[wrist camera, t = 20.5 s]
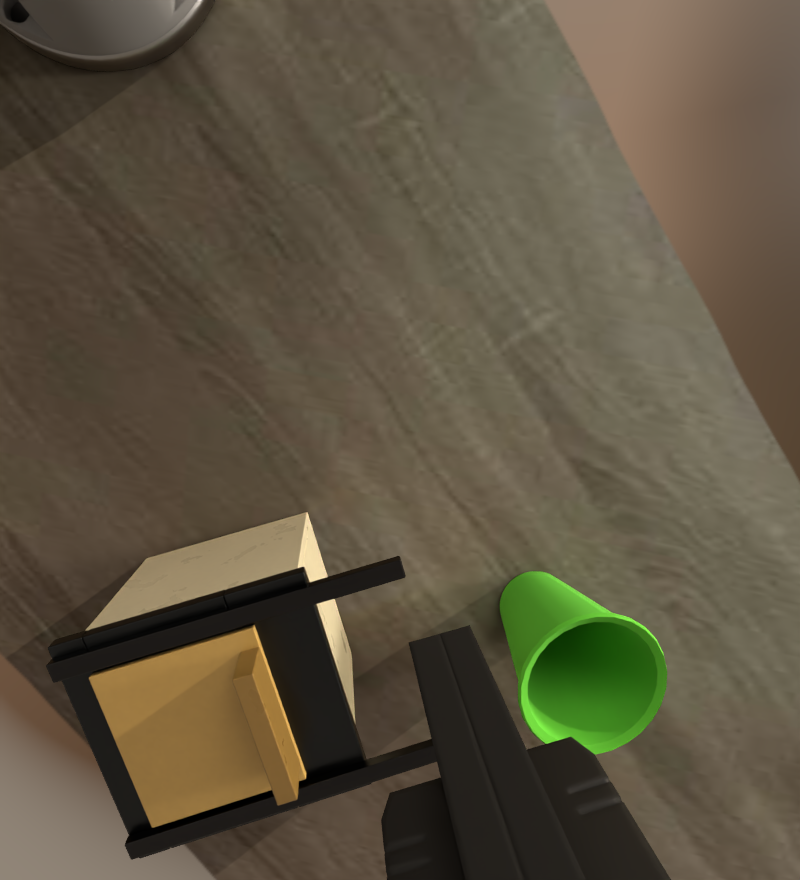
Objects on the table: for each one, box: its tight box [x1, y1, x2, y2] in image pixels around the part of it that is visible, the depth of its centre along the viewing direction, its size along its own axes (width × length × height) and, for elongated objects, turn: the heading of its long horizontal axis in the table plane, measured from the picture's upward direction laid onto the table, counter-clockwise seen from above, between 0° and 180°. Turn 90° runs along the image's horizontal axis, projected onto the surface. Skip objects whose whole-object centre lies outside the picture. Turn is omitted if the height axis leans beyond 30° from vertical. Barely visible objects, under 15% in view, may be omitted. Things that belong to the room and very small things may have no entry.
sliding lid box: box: [46, 512, 437, 859], centre depth 35 cm, size 13×18×13 cm
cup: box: [500, 571, 667, 754], centre depth 38 cm, size 9×9×11 cm
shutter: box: [89, 625, 306, 828], centre depth 28 cm, size 9×8×3 cm
